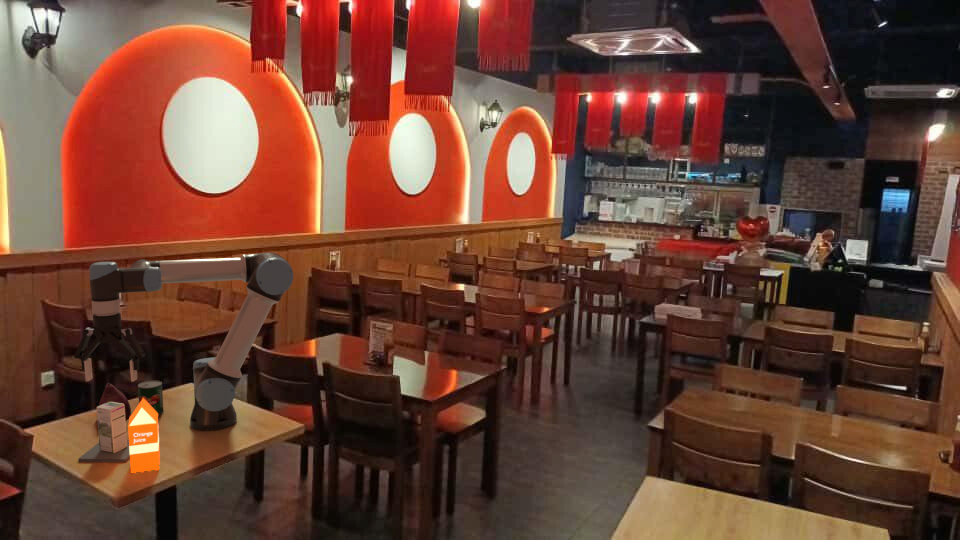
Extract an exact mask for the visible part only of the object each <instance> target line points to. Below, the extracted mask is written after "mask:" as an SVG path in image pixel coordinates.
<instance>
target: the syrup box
mask: <svg viewBox="0 0 960 540" xmlns="http://www.w3.org/2000/svg"><path fill="white" fill-rule="evenodd" d="M96 418H97V419H96V420H97V430H98V431H97V433H98V443H99V447H100V451H104V452H109V453H116V452H118V451H120V450H122V449H124V448H126V447H127V440H128V437H127V436H128V435H127V423H126V421H127V420H126V419H125V405H124V404H122V403H116V402H107V403H104V404H102V405H100V406H99V405H98V406H96Z"/></svg>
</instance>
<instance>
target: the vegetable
mask: <svg viewBox="0 0 960 540" xmlns="http://www.w3.org/2000/svg"><path fill="white" fill-rule="evenodd" d="M107 402H116V403H122V404H124V405H125V419H126V418H127V419H130V416H131V415H132V408H131V405H130V402H129V400H128V398H127V397H126V395H125V394H124V393H123V392H122V391H120V390H119V389H117V387H115V385H113V384H112V383H108V382H107V383H106V385H105V388H104V390H103V393H102V395H101V397H100V400H99V403H98V406H100V405H102V404H104V403H107Z"/></svg>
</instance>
